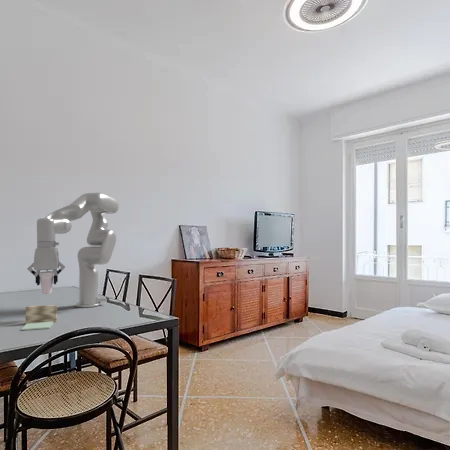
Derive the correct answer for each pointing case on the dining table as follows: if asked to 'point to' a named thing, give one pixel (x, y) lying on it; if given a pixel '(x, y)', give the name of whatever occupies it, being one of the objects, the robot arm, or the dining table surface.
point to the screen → (41, 314)
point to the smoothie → (46, 281)
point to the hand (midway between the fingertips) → (46, 284)
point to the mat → (37, 326)
